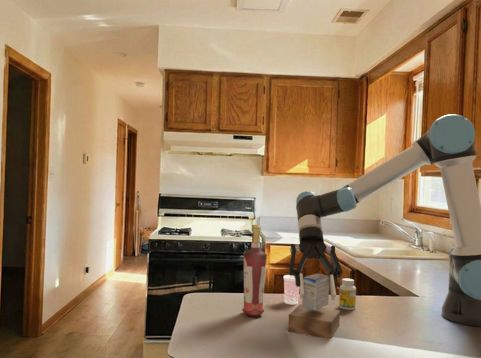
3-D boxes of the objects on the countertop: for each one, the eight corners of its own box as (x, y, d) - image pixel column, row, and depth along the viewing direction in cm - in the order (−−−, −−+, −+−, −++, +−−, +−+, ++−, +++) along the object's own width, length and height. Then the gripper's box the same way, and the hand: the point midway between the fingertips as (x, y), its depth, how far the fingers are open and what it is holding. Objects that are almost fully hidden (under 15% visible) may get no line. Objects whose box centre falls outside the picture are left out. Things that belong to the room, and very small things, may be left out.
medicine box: (315, 301, 122) (316, 272, 122) (328, 305, 119) (329, 275, 119) (301, 307, 115) (302, 276, 116) (315, 311, 113) (316, 279, 113)
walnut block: (339, 327, 120) (340, 310, 120) (330, 341, 109) (331, 322, 109) (299, 320, 125) (300, 303, 125) (288, 332, 114) (288, 314, 114)
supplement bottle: (358, 309, 137) (359, 280, 137) (346, 310, 135) (347, 282, 135) (348, 304, 142) (349, 277, 142) (335, 306, 140) (336, 278, 140)
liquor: (266, 318, 124) (270, 226, 125) (243, 318, 123) (247, 226, 123) (261, 310, 131) (265, 224, 132) (239, 311, 130) (243, 223, 131)
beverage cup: (299, 305, 138) (301, 264, 139) (281, 304, 140) (283, 263, 140) (300, 301, 144) (302, 261, 145) (283, 299, 146) (284, 260, 146)
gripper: (341, 240, 133) (352, 304, 116) (276, 238, 133) (279, 302, 116) (345, 226, 127) (358, 291, 111) (278, 223, 127) (281, 288, 111)
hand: (318, 296), depth 114 cm, fingers closed on medicine box, 8 cm apart
